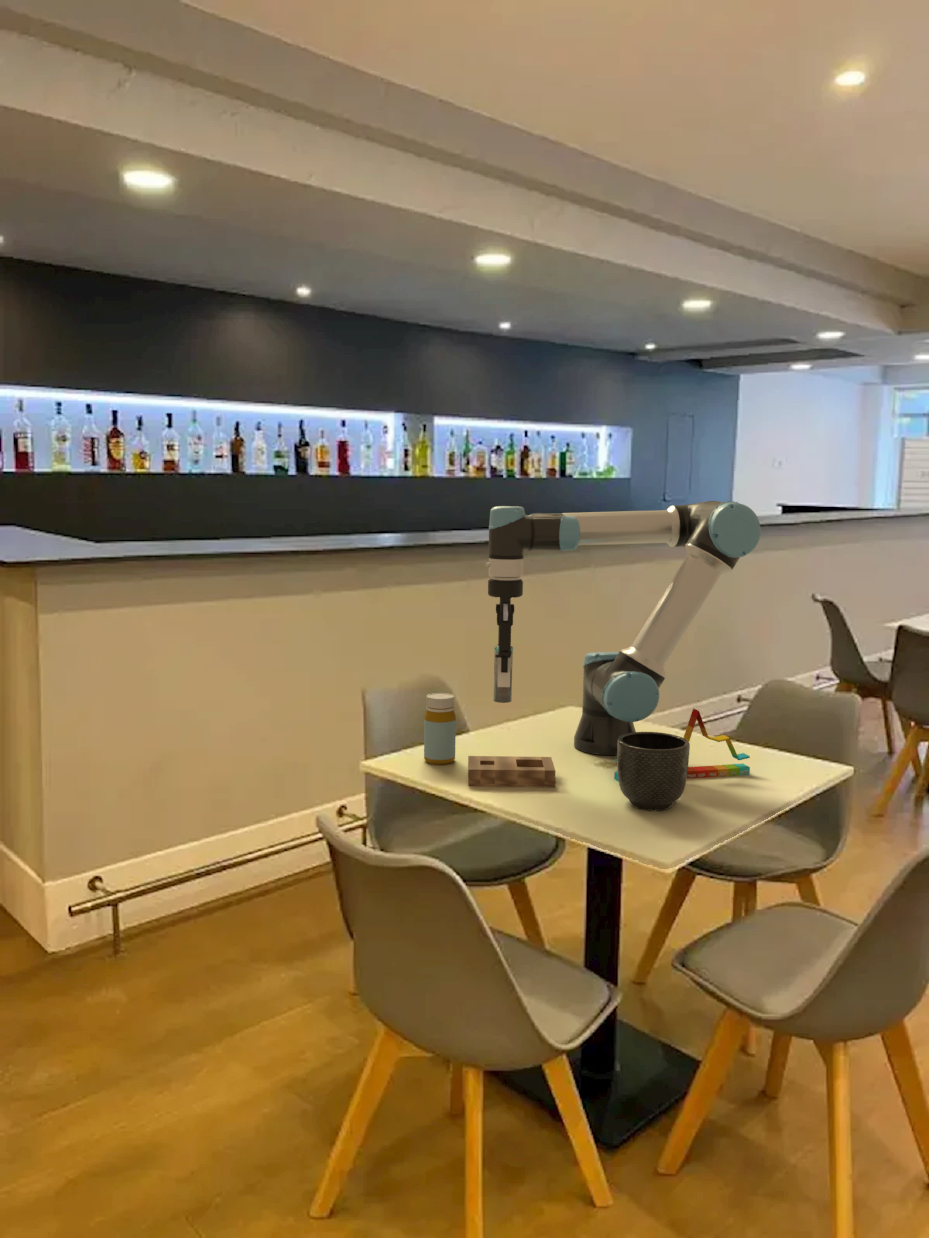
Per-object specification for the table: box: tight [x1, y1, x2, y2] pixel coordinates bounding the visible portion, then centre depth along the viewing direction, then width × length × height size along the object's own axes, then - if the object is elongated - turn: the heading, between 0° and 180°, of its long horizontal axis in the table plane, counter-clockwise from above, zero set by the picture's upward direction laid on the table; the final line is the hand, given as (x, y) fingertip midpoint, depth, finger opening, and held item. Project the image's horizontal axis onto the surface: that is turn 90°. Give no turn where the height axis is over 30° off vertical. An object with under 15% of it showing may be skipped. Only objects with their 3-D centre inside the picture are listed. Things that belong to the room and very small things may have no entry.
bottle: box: [423, 692, 457, 766], centre depth 219 cm, size 7×7×15 cm
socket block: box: [467, 755, 556, 788], centre depth 207 cm, size 18×10×4 cm, turn 90°
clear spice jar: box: [492, 644, 514, 704], centre depth 213 cm, size 4×4×12 cm
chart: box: [613, 707, 751, 783], centre depth 210 cm, size 30×3×15 cm, turn 104°
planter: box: [616, 731, 691, 811], centre depth 192 cm, size 14×14×13 cm
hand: (503, 684), depth 214 cm, fingers closed on clear spice jar, 4 cm apart
